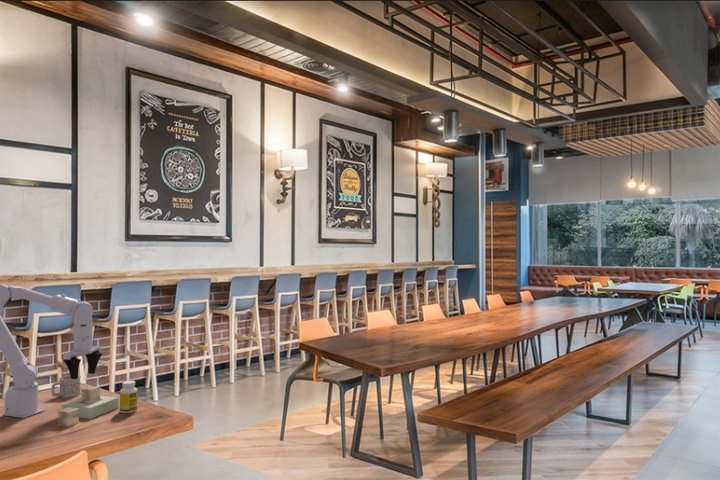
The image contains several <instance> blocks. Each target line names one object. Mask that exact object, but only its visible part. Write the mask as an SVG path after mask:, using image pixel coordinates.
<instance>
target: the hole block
mask: <svg viewBox="0 0 720 480" xmlns="http://www.w3.org/2000/svg"><path fill="white" fill-rule="evenodd" d="M68 407H70V408H79V419H80V418H82V419H89V420H91V419H94V418H96V417H99V416H102V415H105V414H106V413H110V412H112V411H113V410H117V409H118V408H119V397H115V396H106V395H100V401H98V402H95V403H93V404H84V403H81V397H79V398H76V399H74V400H71V401H68V402H65V403H63V404H61V410H63V409H65V408H68Z"/></svg>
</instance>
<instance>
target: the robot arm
mask: <svg viewBox="0 0 720 480" xmlns="http://www.w3.org/2000/svg"><path fill="white" fill-rule="evenodd" d="M10 299H11V302H12V301H19V300H26V301H30V302H33V303H37V304H41V305H44V306H48V307H49V309H50V311H52V312H56V313H60V314H62V315H66V316H68V317H69V316H70V317H72V316H74V324H73V349H72V350H70V351H68V352H65V353H63V363H64V364H65V366H66V368H67V369H68V372H69V376H71V379H78V376H79V370H80V369H79V368H80V363H81V361H82V359H81V358H79V357H82V356H85V357H86V361H87V372H88V374H90V375H94V374H95V373H96V370H97V366H98V363H99V361H100V359H101V357H102V356H103V353H102V345H93V332H94V331H93V327H94V326H93V325H94V324H93V317H92V316H93V314H94V310H93V307H92V305H91V304H90V303H89V302H87V301H85V300H82V301H81V299H80V298H77V299H76V298H73V297H69V296H67V294H64V293H62V294H56V295H53V296H51V295H48V294H45V293H43V292H39V291H36V290H32V289H30V288H27V287H24V286H19V285H14V284H10V285H9V284H7V283H5V282H0V351H1V354H2V356H3V357H4V358H5V360H6V362H7V364H8V367H9V370H10V372H11V374H12V382H13V385H12V386H10V387H9V388H8V389H6V391H5V395H4V413H2V414H1V415H2V416H6V417H14V418H22V419H24V418H28V417H30V416H33V415H37V414H40V413H43V412H44V411H45V409H44V408H39V383H38V382H37V381H36V379H37V376H38V372H39V371H38V369H37V366H35V365H34V364H32V363H31V362H30V361H29V360H28V358H27V357H26V356H25V355H24V354H23V351H22V350H21V348H20V347H19V345H18V343H17V342H16V340H15V338H14V335H13V334H12V333H11V330H10V329H9V328H8V326H7V324H6V322H5V320H4V319H3V318H2V316H1V313H2V311H3V309H4V307H5V304H6V303H8V301H9V300H10Z"/></svg>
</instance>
